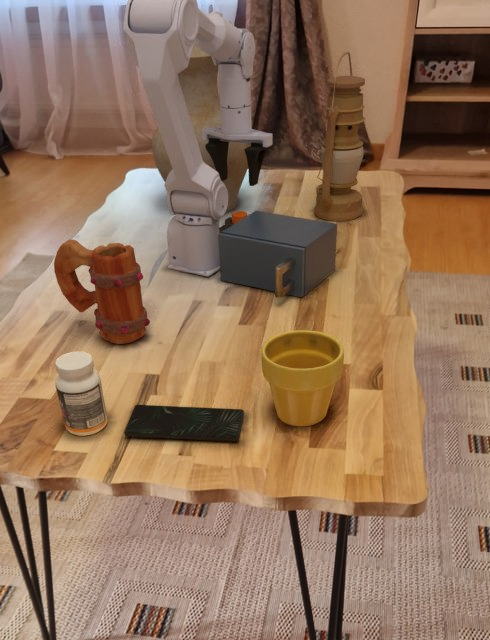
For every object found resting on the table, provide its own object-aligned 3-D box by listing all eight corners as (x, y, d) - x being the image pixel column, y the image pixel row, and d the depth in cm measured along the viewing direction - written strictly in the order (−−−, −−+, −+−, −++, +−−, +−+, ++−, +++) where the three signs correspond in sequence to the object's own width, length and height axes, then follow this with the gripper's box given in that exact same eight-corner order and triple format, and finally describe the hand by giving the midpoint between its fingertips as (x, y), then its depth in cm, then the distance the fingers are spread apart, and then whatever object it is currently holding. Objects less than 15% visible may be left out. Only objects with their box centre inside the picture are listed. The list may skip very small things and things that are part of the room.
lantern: (318, 200, 164) (323, 45, 144) (365, 201, 162) (376, 44, 142) (309, 224, 152) (313, 58, 133) (359, 225, 150) (371, 58, 131)
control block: (212, 237, 149) (211, 222, 147) (230, 226, 154) (230, 212, 152) (250, 244, 145) (249, 229, 143) (267, 233, 150) (267, 218, 148)
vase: (254, 219, 156) (251, 58, 137) (153, 223, 157) (135, 63, 138) (253, 187, 173) (250, 39, 154) (162, 191, 174) (147, 45, 154)
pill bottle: (67, 415, 100) (52, 350, 93) (109, 412, 100) (97, 347, 94) (63, 439, 95) (48, 373, 89) (107, 435, 96) (94, 369, 89)
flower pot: (287, 444, 92) (288, 377, 86) (248, 406, 99) (246, 342, 93) (355, 421, 96) (360, 354, 89) (313, 386, 103) (315, 322, 97)
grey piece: (287, 309, 122) (287, 260, 116) (205, 290, 129) (201, 244, 124) (303, 295, 125) (304, 248, 120) (223, 278, 133) (220, 232, 127)
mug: (161, 328, 119) (150, 236, 109) (140, 352, 113) (127, 257, 103) (82, 319, 123) (64, 229, 113) (58, 341, 117) (37, 249, 107)
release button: (228, 223, 147) (228, 215, 146) (237, 218, 149) (236, 210, 148) (242, 226, 146) (242, 217, 145) (250, 221, 148) (250, 212, 147)
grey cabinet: (304, 296, 126) (305, 246, 120) (223, 278, 133) (221, 231, 127) (335, 270, 133) (337, 223, 128) (257, 255, 141) (256, 210, 135)
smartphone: (238, 437, 92) (123, 432, 94) (238, 444, 93) (124, 438, 95) (244, 408, 97) (135, 403, 99) (244, 414, 98) (135, 409, 100)
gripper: (280, 103, 133) (280, 181, 142) (214, 97, 140) (218, 172, 148) (261, 112, 129) (262, 191, 138) (193, 105, 135) (199, 182, 144)
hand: (238, 182), depth 143 cm, fingers open, 6 cm apart
